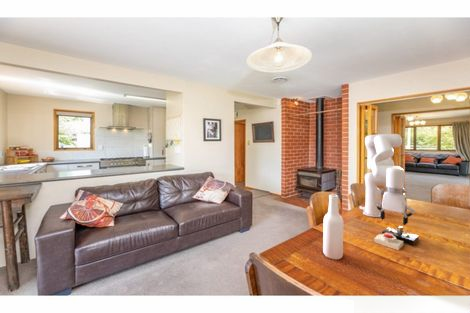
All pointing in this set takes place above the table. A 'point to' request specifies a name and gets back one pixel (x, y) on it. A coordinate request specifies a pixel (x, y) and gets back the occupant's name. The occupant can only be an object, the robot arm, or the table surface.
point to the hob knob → (400, 230)
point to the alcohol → (333, 230)
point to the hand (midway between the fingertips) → (393, 221)
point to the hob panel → (403, 236)
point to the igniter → (388, 241)
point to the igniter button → (388, 235)
